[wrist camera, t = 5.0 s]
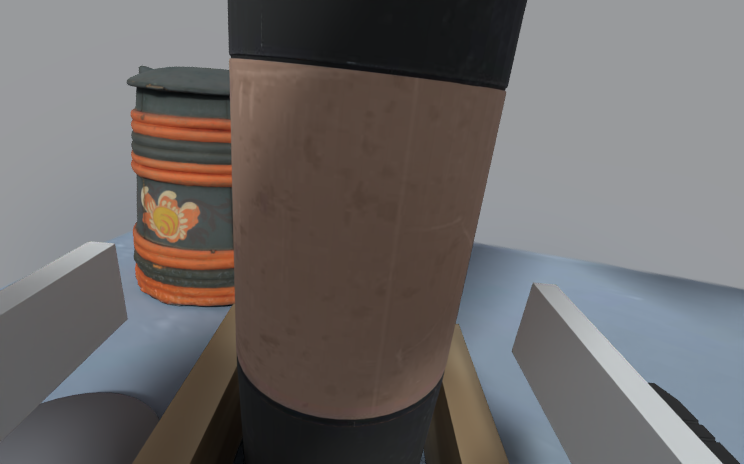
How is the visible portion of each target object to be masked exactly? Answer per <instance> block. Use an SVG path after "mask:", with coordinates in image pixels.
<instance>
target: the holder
mask: <svg viewBox="0 0 744 464" xmlns="http://www.w3.org/2000/svg"><path fill="white" fill-rule="evenodd" d="M242 437H243V434H242V421H241V408H240V396H239V383H238V370H237V352H236V325H235V304H233V305H232V307H231V309H230V310H229V312H228V313H227V315H226V316H225V318H224V320H223V321H222V323H221V324H220V326H219V327H218V329H217V331H216V332H215V334H214V335H213V337H212V338H211V340H210V342H209V343H208V345H207V346H206V348H205V350H204V351H203V353H202V354H201V356H200V357H199V359H198V361H197V362H196V364H195V365H194V367H193V368H192V370H191V372H190V373H189V375H188V376H187V378H186V380H185V381H184V383H183V384H182V386H181V387H180V389H179V391H178V392H177V394H176V395H175V397H174V398H173V400H172V402H171V403H170V405H169V406H168V408H167V409H166V411H165V413H164V414H163V416H162V417H161V419H160V421H159V422H158V424H157V425H156V427H155V428H154V430H153V432H152V433H151V435H150V436H149V438H148V439H147V441H146V443H145V444H144V446H143V447H142V449H141V451H140V452H139V454H138V455H137V457H136V458H135V460H134V462H133V463H132V464H233V461H234V459H235V456H236V453H237V451H238V448H239V445H240V442H241V440H242ZM424 453H425V460H426V464H509V462H508V459H507V456H506V453H505V451H504V448H503V445H502V442H501V439H500V437H499V434H498V431H497V428H496V426H495V423H494V420H493V417H492V415H491V412H490V409H489V406H488V404H487V401H486V398H485V395H484V393H483V390H482V387H481V384H480V382H479V379H478V376H477V373H476V371H475V368H474V365H473V362H472V360H471V357H470V354H469V351H468V348H467V346H466V343H465V340H464V337H463V335H462V332H461V329H460V326H459V324H455V328H454V333H453V337H452V342H451V346H450V351H449V355H448V360H447V365H446V368H445V372H444V376H443V380H442V384H441V387H440V391H439V395H438V398H437V402H436V405H435V409H434V413H433V416H432V420H431V424H430V427H429V431H428V434H427V438H426V442H425V445H424Z"/></svg>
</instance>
